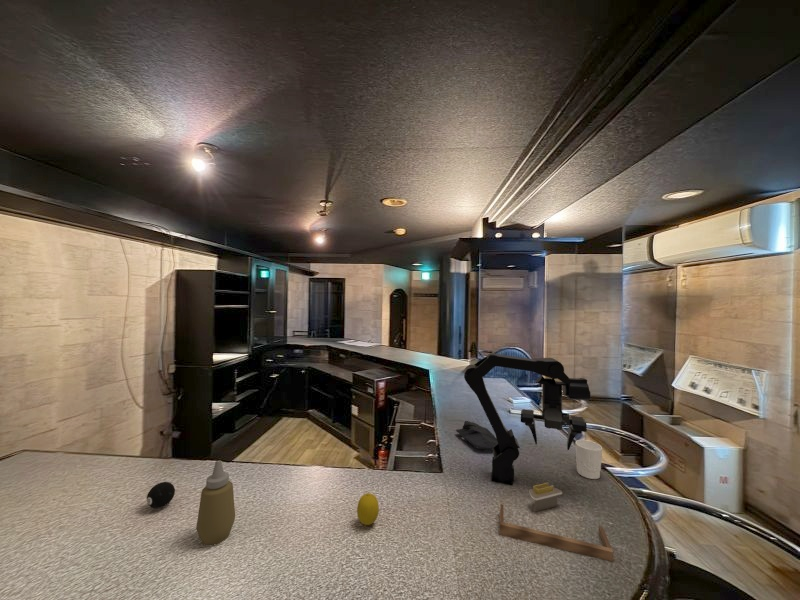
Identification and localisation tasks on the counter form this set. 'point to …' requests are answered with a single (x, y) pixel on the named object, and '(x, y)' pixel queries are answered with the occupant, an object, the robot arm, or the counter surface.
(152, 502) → the black ovoid
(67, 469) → the counter surface
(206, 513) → the squeeze bottle
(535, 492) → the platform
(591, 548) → the frame
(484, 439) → the dark slate chunk
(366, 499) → the lemon
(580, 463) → the white cup
